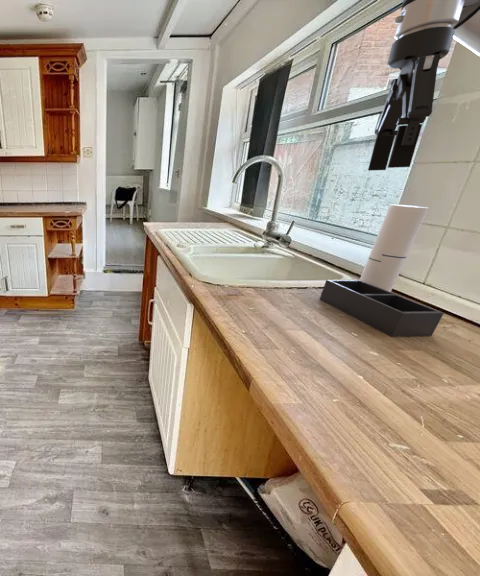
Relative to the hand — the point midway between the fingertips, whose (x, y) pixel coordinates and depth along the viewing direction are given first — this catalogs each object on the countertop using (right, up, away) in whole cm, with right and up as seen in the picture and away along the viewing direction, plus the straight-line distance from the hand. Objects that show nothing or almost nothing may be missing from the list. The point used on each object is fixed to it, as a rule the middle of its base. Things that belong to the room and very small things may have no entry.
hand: (386, 169), depth 58 cm
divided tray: (+11, -29, +16) cm, 35 cm away
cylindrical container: (+22, -25, +28) cm, 43 cm away
